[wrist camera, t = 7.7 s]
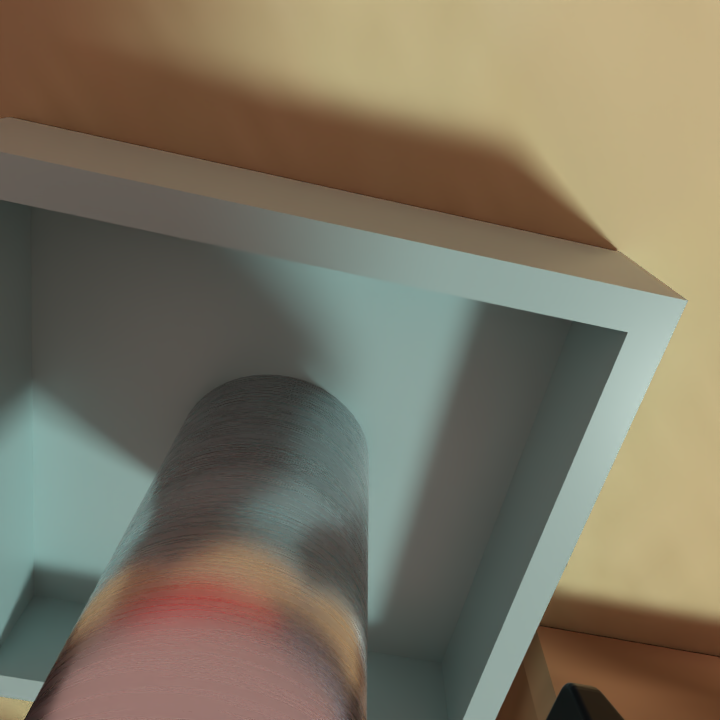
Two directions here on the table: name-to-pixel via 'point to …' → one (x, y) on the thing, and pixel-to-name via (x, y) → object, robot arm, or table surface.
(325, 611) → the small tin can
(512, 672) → the tray
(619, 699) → the wooden square frame
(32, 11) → the table surface
